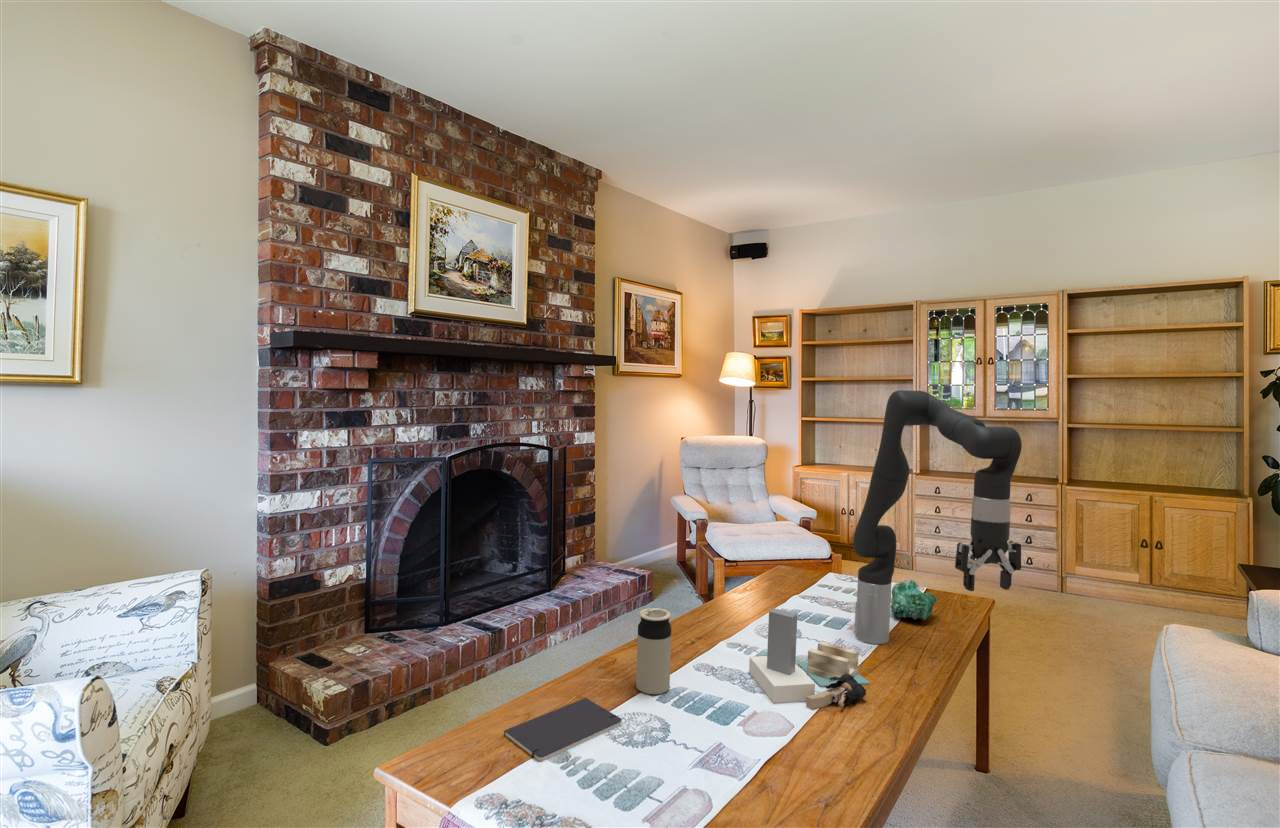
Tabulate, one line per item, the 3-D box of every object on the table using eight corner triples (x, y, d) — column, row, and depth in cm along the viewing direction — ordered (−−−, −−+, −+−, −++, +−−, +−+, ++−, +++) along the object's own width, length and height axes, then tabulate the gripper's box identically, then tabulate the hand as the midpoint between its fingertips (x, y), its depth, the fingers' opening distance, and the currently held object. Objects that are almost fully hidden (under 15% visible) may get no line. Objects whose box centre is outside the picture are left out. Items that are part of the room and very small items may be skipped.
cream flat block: (749, 672, 163) (749, 656, 163) (786, 670, 165) (786, 654, 165) (773, 703, 148) (774, 686, 148) (814, 700, 150) (814, 683, 149)
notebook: (585, 704, 146) (503, 737, 131) (585, 697, 146) (504, 730, 131) (623, 726, 137) (539, 765, 122) (623, 719, 137) (540, 757, 122)
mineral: (873, 606, 217) (875, 577, 216) (917, 606, 218) (919, 577, 218) (901, 627, 198) (903, 595, 198) (949, 626, 200) (951, 594, 200)
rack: (806, 672, 163) (807, 651, 163) (820, 661, 170) (821, 640, 170) (845, 684, 157) (846, 662, 157) (858, 672, 164) (859, 651, 164)
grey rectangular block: (766, 668, 157) (768, 611, 156) (772, 664, 159) (774, 608, 159) (789, 675, 153) (792, 617, 153) (795, 671, 156) (797, 614, 155)
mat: (797, 664, 169) (797, 662, 169) (843, 661, 172) (843, 660, 171) (820, 687, 156) (820, 685, 156) (869, 684, 159) (869, 682, 159)
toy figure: (828, 720, 142) (871, 700, 150) (825, 691, 142) (868, 672, 150) (803, 710, 148) (845, 691, 156) (801, 682, 148) (843, 665, 156)
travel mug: (676, 687, 154) (678, 613, 153) (654, 699, 148) (656, 622, 147) (651, 676, 159) (653, 605, 158) (629, 687, 154) (631, 612, 153)
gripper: (1007, 512, 146) (1004, 582, 147) (950, 513, 144) (946, 585, 145) (1032, 520, 139) (1028, 594, 140) (971, 521, 137) (968, 596, 138)
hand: (986, 589), depth 143 cm, fingers open, 8 cm apart
